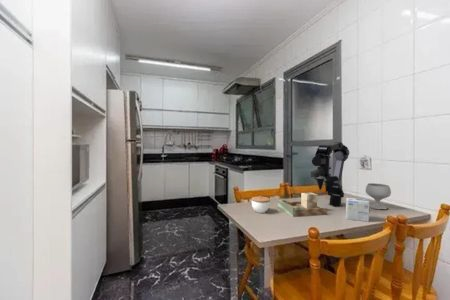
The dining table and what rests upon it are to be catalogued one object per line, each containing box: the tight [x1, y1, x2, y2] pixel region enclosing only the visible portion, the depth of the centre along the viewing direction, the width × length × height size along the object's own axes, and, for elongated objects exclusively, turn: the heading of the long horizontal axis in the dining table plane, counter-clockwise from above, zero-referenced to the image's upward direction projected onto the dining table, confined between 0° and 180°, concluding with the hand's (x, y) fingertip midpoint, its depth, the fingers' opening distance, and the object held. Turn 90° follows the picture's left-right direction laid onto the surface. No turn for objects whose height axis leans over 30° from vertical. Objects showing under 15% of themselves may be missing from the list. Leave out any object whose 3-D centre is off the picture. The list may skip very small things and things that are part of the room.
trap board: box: [277, 199, 328, 217], centre depth 142 cm, size 22×17×5 cm
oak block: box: [300, 192, 318, 208], centre depth 144 cm, size 7×6×8 cm
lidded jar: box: [251, 195, 271, 214], centre depth 140 cm, size 11×11×9 cm
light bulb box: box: [345, 197, 370, 223], centre depth 130 cm, size 11×7×11 cm, turn 71°
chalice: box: [365, 182, 392, 210], centre depth 155 cm, size 14×14×15 cm
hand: (323, 190), depth 146 cm, fingers open, 6 cm apart
